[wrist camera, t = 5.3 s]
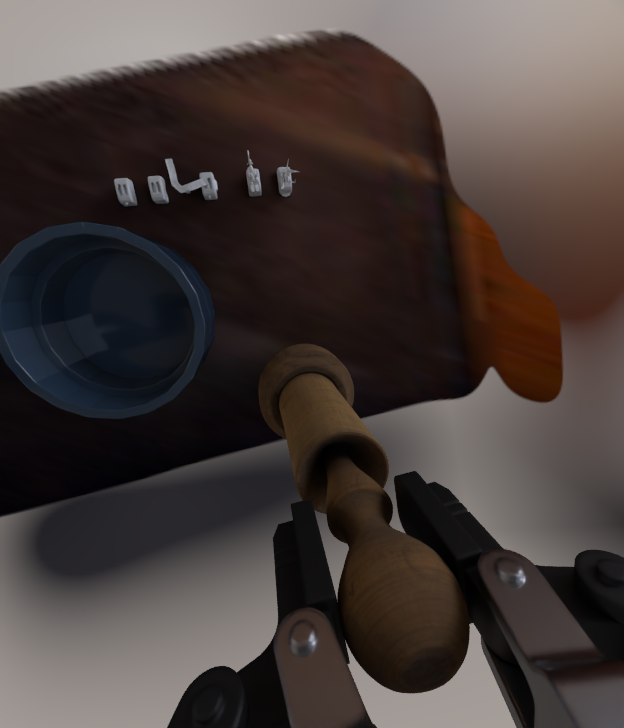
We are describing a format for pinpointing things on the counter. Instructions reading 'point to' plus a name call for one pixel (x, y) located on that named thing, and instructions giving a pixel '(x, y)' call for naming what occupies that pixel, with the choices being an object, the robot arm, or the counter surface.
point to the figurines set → (198, 185)
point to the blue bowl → (102, 319)
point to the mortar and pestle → (365, 527)
